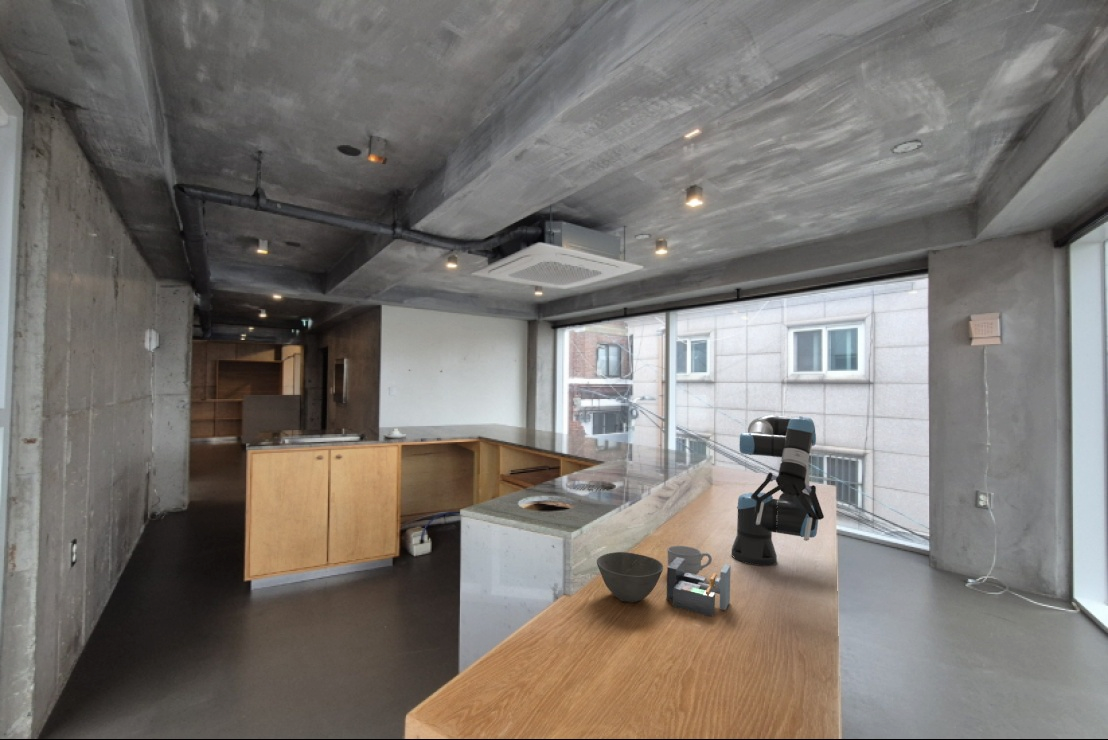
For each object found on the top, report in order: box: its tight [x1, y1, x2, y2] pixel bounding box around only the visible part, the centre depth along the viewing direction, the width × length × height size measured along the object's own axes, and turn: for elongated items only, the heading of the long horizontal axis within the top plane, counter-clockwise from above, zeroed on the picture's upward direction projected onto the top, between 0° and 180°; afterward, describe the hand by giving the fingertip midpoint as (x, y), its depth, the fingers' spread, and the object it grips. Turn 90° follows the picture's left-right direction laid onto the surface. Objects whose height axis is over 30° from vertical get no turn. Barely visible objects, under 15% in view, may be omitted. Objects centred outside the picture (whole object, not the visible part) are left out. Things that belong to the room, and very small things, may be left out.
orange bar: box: [706, 572, 718, 594], centre depth 130 cm, size 11×1×2 cm, turn 150°
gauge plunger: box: [698, 563, 731, 611], centre depth 132 cm, size 7×8×10 cm
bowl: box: [596, 551, 664, 603], centre depth 134 cm, size 19×19×10 cm
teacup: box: [666, 545, 713, 575], centre depth 153 cm, size 14×11×8 cm
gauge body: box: [666, 557, 716, 618], centre depth 133 cm, size 14×13×9 cm
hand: (781, 531), depth 140 cm, fingers open, 13 cm apart
